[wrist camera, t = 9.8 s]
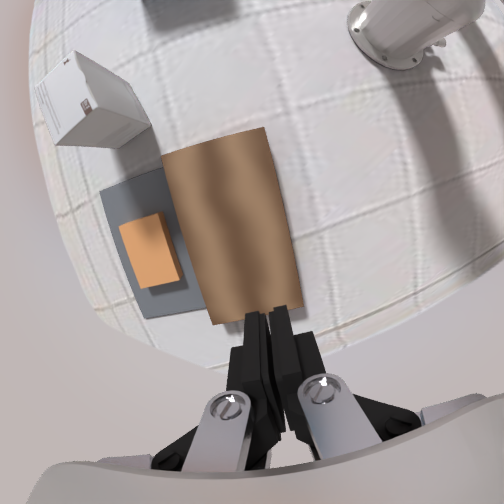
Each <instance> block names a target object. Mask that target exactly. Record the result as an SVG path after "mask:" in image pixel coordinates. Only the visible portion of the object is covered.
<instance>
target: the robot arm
mask: <svg viewBox="0 0 504 504" xmlns="http://www.w3.org/2000/svg"><path fill="white" fill-rule="evenodd" d="M501 2H502V3H503V4H504V0H501ZM484 8H485V0H372V1H365V2H361V3H358V4H356V5H355V6H354V7H353V8H352V9H351V11H350V12H349V15H348V19H347V24H348V29H349V32H350V34H351V36H352V38H353V40H354V41H355V43H356V44H357V45H358V46H359V48H360V49H361V50H362V51H363V52H364V53H365V54H367V55H368V56H369V57H370V58H372V59H373V60H375V61H376V62H378V63H379V64H382V65H384V66H386V67H389V68H392V69H396V70H407V69H411V68H413V67H415V66H417V65H418V64H419V63H420V62H421V60H422V58H423V54H424V48H426V47H428V46H432V45H434V46H439V47H445V46H446V40H445V39H444V37H446V36H447V35H449V34H451V33H453V32H455V31H457V30H459V29H461V28H462V27H464V26H466V25H468V24H470V23H472V22H474V21H476V20H477V19H479V18H480V17H481V15H482V14H483V12H484ZM273 310H274V311H271V312H269V321H270V331H271V334H270V331H269V327H268V323H267V319H266V315H265V313H262V314H260V312H259V311H254V312H249V313H245V324H244V341H243V346H238V347H232V348H231V353H230V362H229V370H228V379H227V388H226V391H225V392H222V393H219V394H218V395H216V396H214V397H213V398H212V399H211V400H210V401H209V402H208V404H207V405H206V407H205V410H204V412H203V415H202V418H201V421H200V423H199V425H198V426H196V427H195V428H194V429H192V430H191V431H189V432H188V433H187V434H185V435H184V436H182V437H181V438H179V439H178V440H176V441H175V442H173V443H172V444H170V445H169V446H167V447H166V448H164V449H163V450H161V451H160V452H159V453H158V454H156V455H155V456H153V457H152V456H151V455H150V454H147V455H138V456H126V457H107V458H102V459H101V460H99V461H97V462H90V461H73V462H65V463H59V464H56V465H53V466H51V467H49V468H48V469H47V470H46V471H45V472H44V473H43V474H42V476H41V477H40V479H39V480H38V482H37V483H36V485H35V486H34V489H33V490H32V492H31V494H30V496H29V499H28V501H27V503H26V504H504V393H503V394H499V395H495V396H491V397H488V398H487V397H485V396H484V395H482V394H477V393H476V394H470V395H467V396H464V397H461V398H458V399H454V400H451V401H448V402H444V403H440V404H437V405H433V406H429V407H425V408H422V410H421V411H420V412H416V413H414V412H412V411H410V410H407V409H403V408H400V407H396V406H392V405H388V404H385V403H381V402H378V401H374V400H371V399H368V398H364V397H361V396H358V395H355V394H352V393H351V392H350V390H349V388H348V387H347V385H346V383H345V382H344V381H343V380H342V379H341V378H340V377H339V376H337V375H334V374H328V373H326V371H325V368H324V365H323V361H322V358H321V355H320V352H319V349H318V346H317V343H316V340H315V337H314V334H313V332H312V331H310V332H306V333H301V334H297V335H293V331H292V327H291V322H290V318H289V313H288V309H287V305H282V306H277V307H273ZM284 411H285V414H286V418H287V421H288V425H289V428H290V431H295V434H296V438H297V439H298V440H300V441H302V442H304V443H306V444H308V445H309V449H310V452H311V454H312V457H313V460H314V461H313V462H309V463H303V464H298V465H293V466H285V467H279V468H271V469H270V461H271V448H272V447H273V446H274V445H275V444H276V443H277V442H278V441H281V433H282V432H286V427H285V417H284Z"/></svg>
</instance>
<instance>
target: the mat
mask: <svg viewBox="0 0 504 504" xmlns="http://www.w3.org/2000/svg"><path fill="white" fill-rule="evenodd" d="M100 196H101V199H102V203H103V207H104V210H105V213H106V217H107V220H108V223H109V227H110V230H111V233H112V236H113V239H114V242H115V245H116V248H117V251H118V254H119V257H120V259H121V262H122V265H123V268H124V270H125V273H126V276H127V278H128V281H129V283H130V286H131V288H132V291H133V293H134V296H135V298H136V301H137V303H138V305H139V308H140V310H141V312H142V314H143V317H144V318H150V317H156V316H162V315H168V314H174V313H179V312H185V311H190V310H196V309H201V308H206V305H205V302H204V299H203V296H202V293H201V290H200V288H199V285H198V282H197V279H196V276H195V273H194V270H193V267H192V263H191V260H190V257H189V254H188V251H187V248H186V245H185V241H184V238H183V235H182V231H181V228H180V225H179V221H178V218H177V215H176V211H175V208H174V204H173V200H172V197H171V193H170V190H169V186H168V182H167V178H166V175H165V171H164V167H163V168H160V169H157V170H154V171H151V172H148V173H146V174H143V175H140V176H137V177H135V178H132V179H129V180H127V181H124V182H122V183H119V184H117V185H114V186H112V187H109V188H107V189H104V190H102V191H100ZM162 211H163V213H164V217H165V220H166V223H167V227H168V230H169V233H170V236H171V239H172V243H173V246H174V249H175V252H176V255H177V258H178V261H179V264H180V267H181V270H182V272H183V276H182V277H181V279H180V280H178V281H174V282H169V283H165V284H160V285H156V286H151V287H147V288H142V289H141V288H140V285H139V283H138V280H137V278H136V275H135V273H134V270H133V267H132V265H131V262H130V259H129V256H128V253H127V251H126V248H125V245H124V242H123V239H122V236H121V233H120V230H119V227H118V226H120V225H123V224H125V223H128V222H130V221H133V220H137V219H140V218H143V217H146V216H149V215H152V214H155V213H158V212H162Z"/></svg>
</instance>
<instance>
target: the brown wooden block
mask: <svg viewBox="0 0 504 504" xmlns="http://www.w3.org/2000/svg"><path fill="white" fill-rule="evenodd" d="M161 159H162V163H163V167H164V171H165V175H166V178H167V182H168V186H169V190H170V193H171V197H172V200H173V204H174V208H175V211H176V215H177V218H178V221H179V225H180V228H181V231H182V235H183V238H184V241H185V245H186V248H187V251H188V254H189V257H190V260H191V263H192V267H193V270H194V273H195V276H196V279H197V282H198V285H199V288H200V290H201V293H202V296H203V299H204V302H205V305H206V308H207V310H208V313H209V316H210V319H211V322H212V324H213V325H217V324H223V323H228V322H234V321H239V320H244V319H245V313H249V312H254V311H259V312H260V314H262V313H265V315H268V314H269V312H271V311H274V310H273V307H277V306H282V305H287V309H288V310H291V309H295V308H299V307H303V306H304V304H303V299H302V293H301V288H300V283H299V278H298V272H297V267H296V262H295V257H294V253H293V248H292V243H291V238H290V234H289V229H288V224H287V220H286V215H285V211H284V206H283V202H282V197H281V193H280V189H279V185H278V180H277V176H276V172H275V168H274V164H273V160H272V156H271V152H270V148H269V144H268V140H267V136H266V132H265V128H264V127H262V128H257V129H253V130H248V131H244V132H240V133H236V134H232V135H228V136H224V137H221V138H217V139H213V140H210V141H206V142H203V143H200V144H196V145H193V146H190V147H186V148H183V149H180V150H177V151H174V152H171V153H168V154H165V155H162V156H161Z"/></svg>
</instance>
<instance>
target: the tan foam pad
mask: <svg viewBox="0 0 504 504" xmlns="http://www.w3.org/2000/svg"><path fill="white" fill-rule="evenodd" d="M118 227H119V230H120V233H121V236H122V239H123V242H124V245H125V248H126V251H127V253H128V256H129V259H130V262H131V265H132V267H133V270H134V273H135V275H136V278H137V280H138V283H139V285H140V288H141V289H142V288H147V287H151V286H156V285H160V284H165V283H169V282H174V281H178V280H180V279H181V277H182V276H183V272H182V270H181V267H180V264H179V261H178V258H177V255H176V252H175V249H174V246H173V243H172V239H171V236H170V233H169V230H168V227H167V223H166V220H165V217H164V213H163V211H162V212H158V213H155V214H152V215H149V216H146V217H143V218H140V219H137V220H133V221H130V222H128V223H125V224H123V225H120V226H118Z"/></svg>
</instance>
